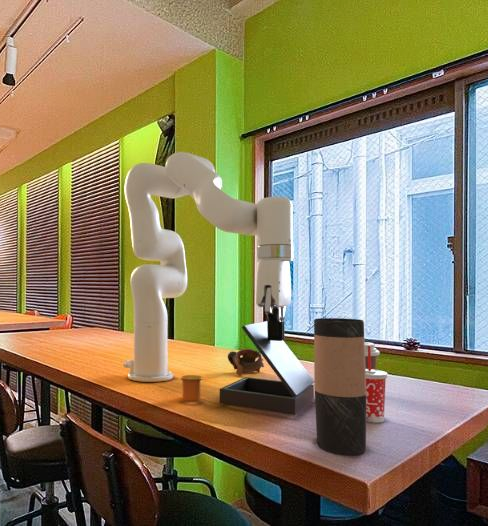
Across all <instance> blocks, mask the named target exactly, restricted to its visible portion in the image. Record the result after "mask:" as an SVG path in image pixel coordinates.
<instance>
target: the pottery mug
mask: <svg viewBox="0 0 488 526" xmlns="http://www.w3.org/2000/svg"><path fill="white" fill-rule="evenodd" d="M256 359H257V360H256ZM227 360H228V362H229V363H230V364H231V365H232V367H233V369H234V370H236V371H235V373H236V375H237V376H239V378H240V377H241V376H242V375H243V374H248V373H249V374H250V373H253V372H254V373H255V372H257V373H260V371H261V368H265V364H264V362H263V361H265V359H263V358H262V354H261V353H260V352H259V350H258V351H257V350H256V349H252V348H243V349H240V350H238V351H233V350H232V351H230V352H228V354H227Z"/></svg>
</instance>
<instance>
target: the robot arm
mask: <svg viewBox="0 0 488 526" xmlns="http://www.w3.org/2000/svg"><path fill="white" fill-rule="evenodd" d="M222 187H223V179H222V178H221V176H220V175H219V174H218V173H217V172H216V169H215V166H214V164H213V163H212V162H211V161H210V160H209V159H207V158H205V157H202V156H200V155H196V154H194V153H189V152H186V151H178V152H174V153H173V154H171V155H169V156H168V158H167V159H166V162H165V166H163V165H158V164H155V163H151V162H140V163H136V164H134V165H133V166H132V167H131V168H130V169H129V170H128V172H127V175H126V178H125V181H124V196H125V201H126V205H127V209H128V213H129V214H128V215H129V222H130V225H129V226H130V234H131V235H130V236H131V245H132V251H133V255H134V256H135V257H136V258H137V259H140V260H144V261H149V262H150V261H152V262H160V264H152V263H151V264H150V263H149V264H148V263H147V264H141V265H139V266H137V267H135V269H133V271H132V273H131V276H130V278H129V280H130V281H129V282H130V291H131V295H132V303H133V360H129V359H127V360H126V359H125V362H124V363H123V364H122V365H123V368H124V369H129V371H130V372H128V373H127V378H128V379H129V380H131V381H134V382H141V383H158V382H165V381H170V380H172V379H174V373H173V372H172V371H170V370H168V363H169V362H168V360H169V359H168V358H169V357H168V356H169V355H168V343H169V342H168V339H169V338H168V336H169V335H168V329H169V328H168V325H169V323H168V320H169V317H168V310H167V307H166V304H165V301H164V300H163V299H174V298H179V297H181V296H182V295H184V293H185V292H186V290H187V288H188V271H187V264H186V263H187V262H186V261H187V260H186V252H185V246H184V242H183V240H182V237H181V236H180V235H179V234H178V233H177V232H176V231H173V230H172V229H171V230H170V229H164V228H162V227H161V221H160V213H159V209H158V207H157V204H155V203H156V202H154V199H152V196H157V197H162V198H166V199H180V198H184V197H186V196H190V197H191V198H192V199H193V200H194V203H195V206H196V209H197V211H198V213H199V214H200V215H201V216H202V217H203V218H204V219H205V220H206V221H208V222H209V223H210V224H212V226H214V227H215V228H217V229H218V230H220V231H222V232H225V233H230V234H237V235H238V234H239V235H244V236H249V237H250V236H251V237H253V236H256V246H257V247H256V251H257V252H256V253H257V255H256V256H257V259H256V260H257V261H256V262H257V263H258V265H257V273H256V293H255V295H256V298H255V299H256V300H255V301H256V306H257V307H259V308H264V313H265V314H266V321H267V332H268V340H273V341H282V340H283V341H285V338H286V337H285V318H286V317H285V314H286V313H285V312H286V311H287V310H286V309H287V308H286V307H288V306H290V305H291V303H292V281H291V279H292V278H291V268H290V267H291V266H290V262H294V227H293V223H294V222H293V202H292V200H291V199H290V198H289V197H285V196H268V197H264V198H260V200H258V202H257V203H255V202H250V201H245V200H242V199H237V198H233V197H232V196H230V195H229V194H228V193H226V192H225V191H223V190H222Z"/></svg>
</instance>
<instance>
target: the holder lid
mask: <svg viewBox="0 0 488 526" xmlns="http://www.w3.org/2000/svg"><path fill="white" fill-rule="evenodd" d="M241 329H242V330H243V332H244V333H245V335H247V337H248V338H249V339H250V341H251V342H252V343H253V345H254V346H255V348H256V349H257V350H258V352H259V353H260V354H261V357H263V358H264V361H266V363H267V365H268V366H269V367H270V369H272V371H273V372H274V374H275V375H276V376H277V377H278V379H279V381H282V383H283V384H284V385H285V387H286V388H287V389H288V391H289V392H290V394H291V395H292V396H293V397H295V396H297V395H298V394H299V393H301V392H302V391H303V390H305V389H306V388H307V387H309V386H310V385H314V379H313V377H312V375H310V373H309V371H308V370H307V369H306V368H305V367H304V365H303V364H302V363H301V362H300V360H299V359H298V357H297V356H296V355H295V354H294V353H293V351H292V350H291V349H290V347H289V346H288V344H286V343H285V340H282V341H273V340H268V332H267V320H265V321H261V322H256V323H255V322H254V323H250V324H244V325H243V326H241Z"/></svg>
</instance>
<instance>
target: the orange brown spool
mask: <svg viewBox="0 0 488 526" xmlns="http://www.w3.org/2000/svg"><path fill="white" fill-rule="evenodd" d="M180 380H181V381H182V383H181V384H182V387H181V389H182V391H181V392H182V393H181V395H182V397H181V398H182V400H183V401H185V402H197V401H201V399H202V395H201V393H202V392H201V391H202V390H201V389H202V385H201V383H202V380H203V377H202V376H201V375H194V374H189V375H188V374H186V375H181V377H180Z"/></svg>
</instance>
